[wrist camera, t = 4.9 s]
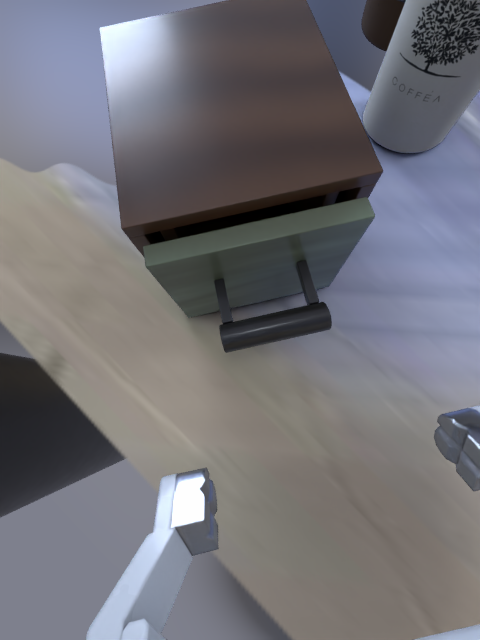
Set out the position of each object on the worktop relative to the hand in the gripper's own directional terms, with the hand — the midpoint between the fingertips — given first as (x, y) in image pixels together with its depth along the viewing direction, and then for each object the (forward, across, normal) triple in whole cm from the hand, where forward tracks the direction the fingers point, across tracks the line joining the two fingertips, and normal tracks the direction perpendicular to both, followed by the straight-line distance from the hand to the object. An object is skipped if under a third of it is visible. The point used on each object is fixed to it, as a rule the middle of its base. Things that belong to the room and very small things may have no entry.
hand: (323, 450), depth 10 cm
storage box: (+21, 0, +5) cm, 21 cm away
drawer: (+17, 0, +3) cm, 17 cm away
